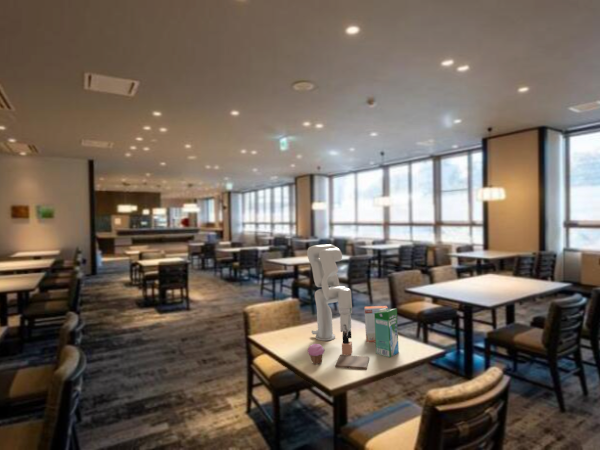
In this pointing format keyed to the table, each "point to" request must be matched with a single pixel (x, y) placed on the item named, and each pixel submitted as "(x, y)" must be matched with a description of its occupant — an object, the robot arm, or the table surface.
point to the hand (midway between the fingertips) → (347, 340)
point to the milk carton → (386, 332)
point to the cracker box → (371, 321)
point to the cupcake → (316, 353)
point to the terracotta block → (347, 349)
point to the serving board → (352, 362)
